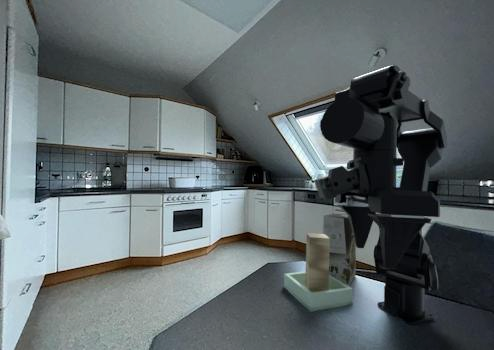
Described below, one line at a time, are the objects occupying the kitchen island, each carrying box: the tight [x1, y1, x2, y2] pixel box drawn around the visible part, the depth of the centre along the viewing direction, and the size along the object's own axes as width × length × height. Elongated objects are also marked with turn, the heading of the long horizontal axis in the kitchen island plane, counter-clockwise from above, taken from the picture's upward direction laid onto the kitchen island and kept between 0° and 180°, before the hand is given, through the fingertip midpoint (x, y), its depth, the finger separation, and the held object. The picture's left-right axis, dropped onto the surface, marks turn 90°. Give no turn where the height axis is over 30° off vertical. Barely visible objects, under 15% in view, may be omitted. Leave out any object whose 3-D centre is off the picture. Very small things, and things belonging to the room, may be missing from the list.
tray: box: [283, 270, 354, 312], centre depth 47 cm, size 10×10×3 cm
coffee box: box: [322, 212, 357, 287], centre depth 57 cm, size 9×6×16 cm
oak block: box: [305, 232, 330, 292], centre depth 47 cm, size 4×4×12 cm
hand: (372, 256), depth 33 cm, fingers open, 9 cm apart
